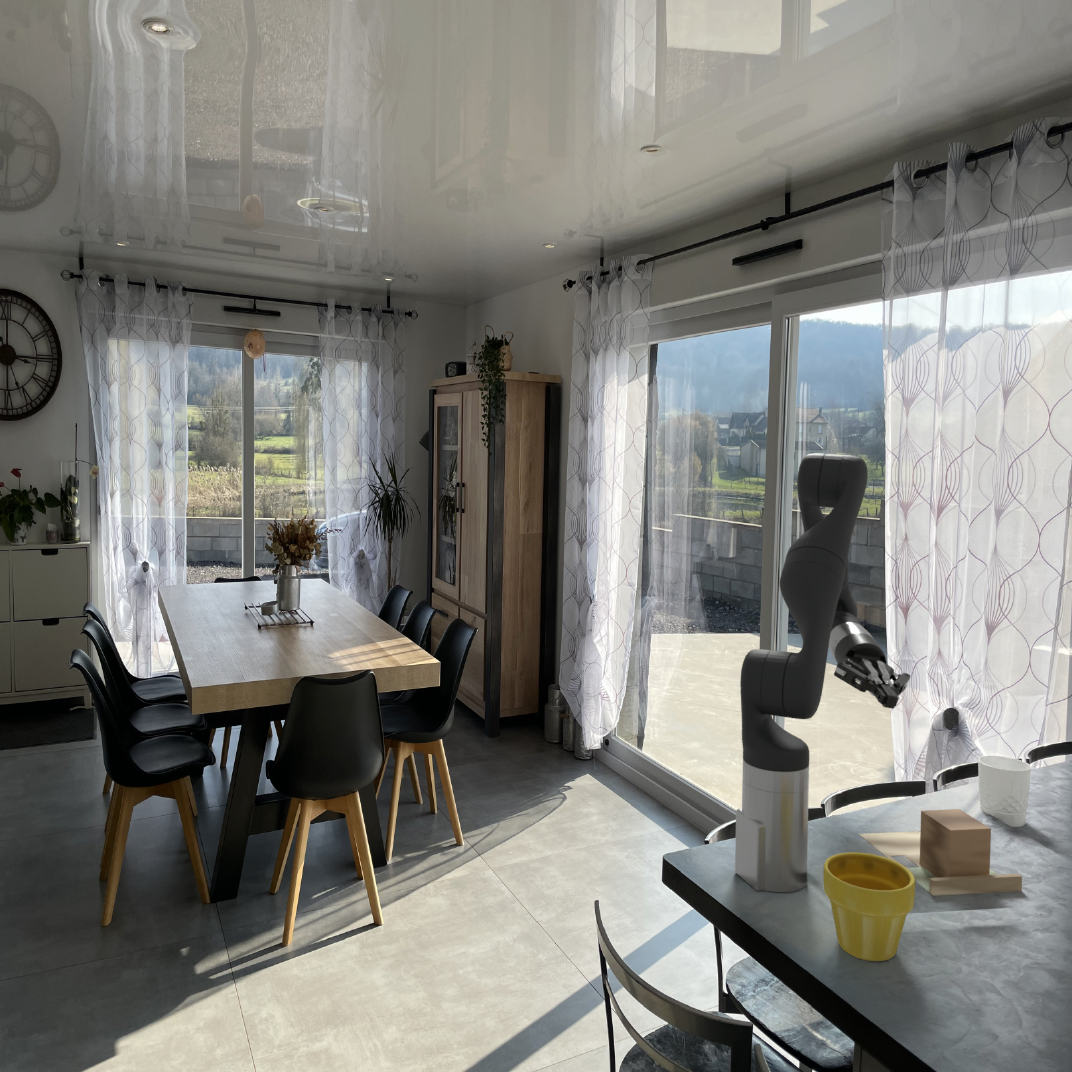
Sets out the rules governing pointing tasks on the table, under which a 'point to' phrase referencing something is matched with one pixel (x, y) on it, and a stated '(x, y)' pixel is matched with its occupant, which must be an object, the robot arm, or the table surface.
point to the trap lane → (910, 848)
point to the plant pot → (868, 902)
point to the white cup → (1004, 788)
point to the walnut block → (954, 844)
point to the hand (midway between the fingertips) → (891, 703)
